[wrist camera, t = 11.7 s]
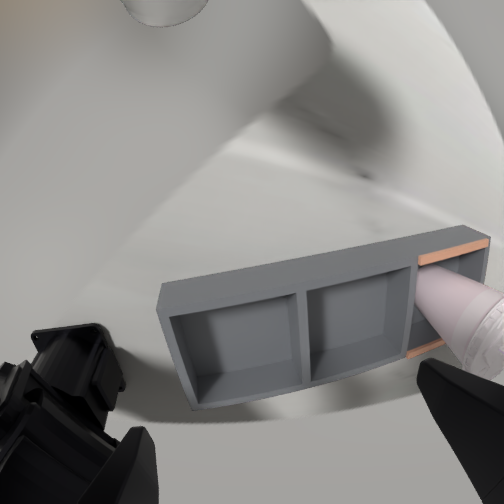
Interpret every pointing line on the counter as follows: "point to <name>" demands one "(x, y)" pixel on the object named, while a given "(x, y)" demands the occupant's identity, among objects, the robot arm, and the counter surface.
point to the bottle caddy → (307, 317)
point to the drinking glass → (163, 11)
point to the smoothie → (464, 318)
